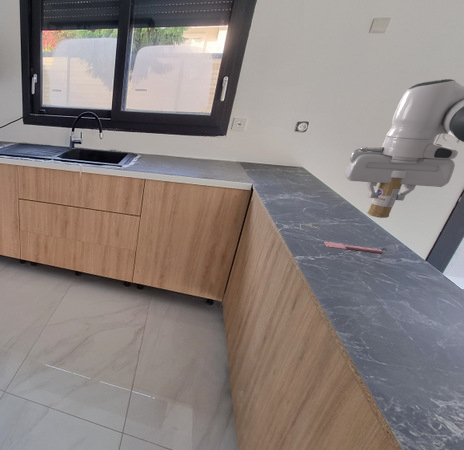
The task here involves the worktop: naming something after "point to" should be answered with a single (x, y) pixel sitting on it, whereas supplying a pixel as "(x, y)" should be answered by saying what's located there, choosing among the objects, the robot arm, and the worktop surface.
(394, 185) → the sprinkles bottle
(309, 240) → the worktop surface
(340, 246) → the spatula
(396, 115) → the robot arm
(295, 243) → the worktop surface
